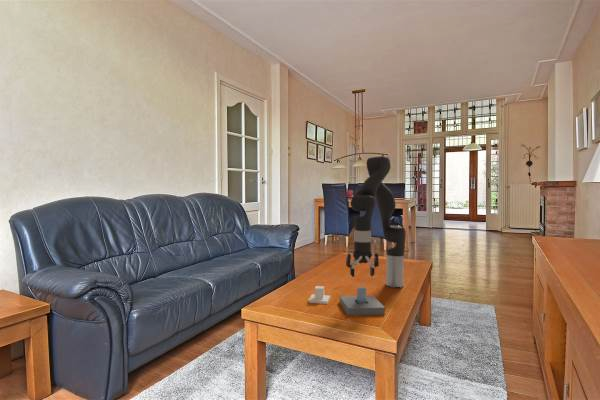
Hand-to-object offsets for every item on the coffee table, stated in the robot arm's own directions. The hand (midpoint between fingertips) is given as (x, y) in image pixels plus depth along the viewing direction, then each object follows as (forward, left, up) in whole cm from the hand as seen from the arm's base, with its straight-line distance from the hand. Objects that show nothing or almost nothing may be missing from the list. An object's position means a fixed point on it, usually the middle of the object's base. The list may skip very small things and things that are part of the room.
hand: (362, 276), depth 147 cm
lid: (-12, -17, -15) cm, 26 cm away
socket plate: (0, 0, -14) cm, 14 cm away
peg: (0, 0, -15) cm, 14 cm away
